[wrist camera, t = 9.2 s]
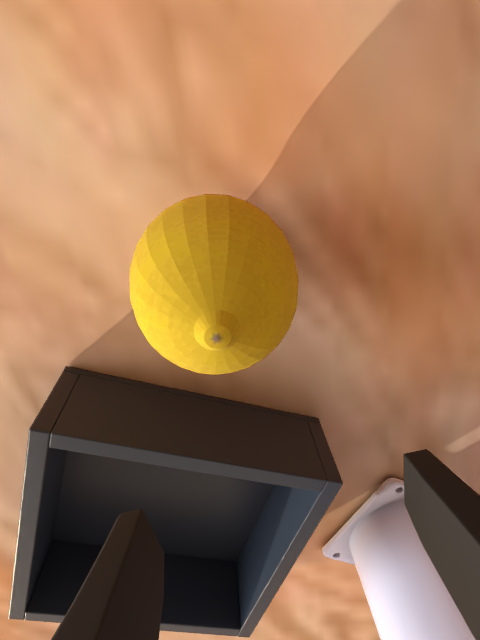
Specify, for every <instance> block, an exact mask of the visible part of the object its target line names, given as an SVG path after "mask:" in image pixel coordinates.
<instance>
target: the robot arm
mask: <svg viewBox="0 0 480 640" xmlns="http://www.w3.org/2000/svg"><path fill="white" fill-rule="evenodd" d="M322 551H323V554H324V556H325V557H328V558H331V559H335V560H339V561H343V562H346V563H350V564H354V565H356V568H357V571H358V574H359V577H360V580H361V583H362V586H363V589H364V592H365V595H366V597H367V600H368V603H369V606H370V609H371V612H372V615H373V618H374V621H375V624H376V627H377V630H378V633H379V636H380V639H381V640H480V495H478V494H477V493H476V492H475V491H474V490H473V489H471V488H470V487H469V486H468V485H467V484H466V483H464V482H463V481H462V480H461V479H460V478H459V477H458V476H456V475H455V474H454V473H453V472H452V471H451V470H450V469H449V468H448V467H446V466H445V465H444V464H443V463H442V462H441V461H440V460H439V459H438V458H437V457H435V456H434V455H433V454H432V453H431V452H430V451H428V450H427V449H425V450H420V451H415V452H411V453H406V454H404V481H403V480H400V479H397V478H389V479H387V480H385V481H384V482H383V484H382V485H381V486H380V487H379V488H378V489H377V490H376V491H375V492H374V493H373V494H372V495H371V496H370V497H369V499H368V500H367V501H366V502H365V503H364V504H363V505H362V506H361V507H360V508H359V509H358V510H357V511H356V513H355V514H354V515H353V516H352V517H351V518H350V519H349V520H348V521H347V522H346V523H345V524H344V525H343V526H342V528H341V529H340V530H339V531H338V532H337V533H336V534H335V535H334V536H333V537H332V538H331V539H330V540H329V541H328V543H327V544H326V545H325V546H324V547H323V549H322ZM163 597H164V552H163V550H162V548H161V546H160V544H159V542H158V540H157V538H156V536H155V534H154V532H153V530H152V528H151V526H150V524H149V522H148V520H147V518H146V516H145V514H144V512H143V510H142V509H139V510H134V511H129V512H125V513H120V515H119V516H118V518H117V520H116V522H115V524H114V526H113V528H112V529H111V531H110V533H109V535H108V537H107V539H106V541H105V543H104V545H103V547H102V549H101V551H100V553H99V555H98V557H97V559H96V561H95V562H94V564H93V566H92V568H91V570H90V572H89V574H88V576H87V578H86V579H85V581H84V583H83V585H82V587H81V588H80V590H79V592H78V594H77V596H76V598H75V599H74V601H73V603H72V605H71V607H70V608H69V610H68V612H67V614H66V615H65V617H64V619H63V620H62V622H61V624H60V625H59V627H58V629H57V631H56V632H55V634H54V636H53V637H52V639H51V640H158V639H159V631H160V623H161V615H162V606H163Z"/></svg>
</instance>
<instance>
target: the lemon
mask: <svg viewBox="0 0 480 640" xmlns="http://www.w3.org/2000/svg"><path fill="white" fill-rule="evenodd" d="M298 281H299V280H298V273H297V268H296V263H295V258H294V254H293V251H292V249H291V247H290V245H289V243H288V241H287V239H286V237H285V236H284V234H283V232H282V230H281V229H280V228H279V227H278V226H277V225H276V224H275V223H274V221H273V220H272V219H271V218H270V217H269V216H268V215H267V214H266V213H265V212H263V211H262V210H260V209H258V208H257V207H255V206H254V205H252V204H251V203H249V202H247V201H245V200H241V199H238V198H235V197H232V196H229V195H215V194H204V195H200V196H195V197H191V198H186V199H184V200H182V201H180V202H178V203H176V204H174V205H172V206H170V207H168V208H167V209H165V210H164V211H163V212H162V213H161V214H160V215H159V216H158V217H157V218H156V219H155V220H154V221H152V222H151V223H150V224H149V226H148V227H147V229H146V231H145V232H144V234H143V236H142V237H141V239H140V241H139V242H138V244H137V246H136V249H135V253H134V256H133V260H132V264H131V267H130V299H131V304H132V307H133V310H134V314H135V317H136V321H137V323H138V326H139V327H140V329H141V331H142V332H143V334H144V335H145V337H146V339H147V340H148V342H149V343H150V345H151V346H152V347H154V348H155V349H156V350H157V351H158V352H159V353H160V354H161V355H162V356H163V357H164V358H166V359H168V360H169V361H171V362H173V363H174V364H176V365H178V366H179V367H181V368H184V369H187V370H190V371H193V372H196V373H203V374H213V375H216V374H226V373H233V372H236V371H239V370H242V369H245V368H248V367H250V366H252V365H253V364H255V363H257V362H259V361H260V360H262V359H264V358H265V357H266V356H267V355H268V354H269V353H270V352H271V351H273V350H274V349H275V348H276V347H277V346H278V345H279V343H280V342H281V340H282V339H283V337H284V336H285V334H286V333H287V331H288V329H289V327H290V325H291V322H292V319H293V316H294V313H295V310H296V307H297V298H298Z"/></svg>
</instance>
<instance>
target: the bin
mask: <svg viewBox="0 0 480 640" xmlns="http://www.w3.org/2000/svg"><path fill="white" fill-rule="evenodd" d="M342 484H343V482H342V480H341V477H340V474H339V472H338V469H337V466H336V464H335V461H334V458H333V456H332V453H331V451H330V448H329V445H328V443H327V440H326V437H325V435H324V432H323V430H322V427H321V424H320V422H319V419H317V418H312V417H308V416H303V415H298V414H293V413H288V412H284V411H279V410H274V409H269V408H264V407H260V406H255V405H250V404H245V403H240V402H236V401H231V400H226V399H221V398H216V397H211V396H207V395H202V394H197V393H192V392H187V391H183V390H178V389H173V388H168V387H163V386H159V385H154V384H149V383H144V382H139V381H135V380H130V379H125V378H120V377H115V376H110V375H106V374H101V373H96V372H91V371H86V370H82V369H77V368H72V367H67V366H66V367H65V369H64V370H63V373H62V374H61V376H60V378H59V379H58V381H57V383H56V385H55V386H54V388H53V390H52V391H51V393H50V395H49V397H48V398H47V400H46V402H45V403H44V405H43V407H42V408H41V410H40V412H39V414H38V415H37V417H36V419H35V420H34V422H33V424H32V426H31V427H30V429H29V436H28V445H27V454H26V464H25V473H24V482H23V491H22V500H21V509H20V518H19V527H18V536H17V546H16V555H15V564H14V573H13V582H12V591H11V600H10V609H9V619H19V620H24V618H25V620H30V621H43V622H56V623H61V622H62V620H63V619H64V617H65V615H66V614H67V612H68V610H69V608H70V607H71V605H72V603H73V601H74V599H75V598H76V596H77V594H78V592H79V590H80V588H81V587H82V585H83V583H84V581H85V579H86V578H87V576H88V574H89V572H90V570H91V568H92V566H93V564H94V562H95V561H96V559H97V557H98V555H99V553H100V551H101V549H102V547H103V545H104V543H105V541H106V539H107V537H108V535H109V533H110V531H111V529H112V528H113V526H114V524H115V522H116V520H117V518H118V516H119V515H120V513H125V512H129V511H134V510H139V509H142V510H143V512H144V514H145V516H146V518H147V520H148V522H149V524H150V526H151V528H152V530H153V532H154V534H155V536H156V538H157V540H158V542H159V544H160V546H161V548H162V550H163V552H164V597H163V606H162V615H161V623H160V630H161V631H174V632H187V633H201V634H214V635H227V636H238V637H250V636H251V634H252V632H253V631H254V629H255V627H256V626H257V624H258V622H259V621H260V619H261V617H262V616H263V614H264V613H265V611H266V609H267V608H268V606H269V604H270V603H271V601H272V599H273V598H274V596H275V594H276V593H277V591H278V590H279V588H280V586H281V585H282V583H283V581H284V580H285V578H286V576H287V575H288V573H289V571H290V570H291V568H292V567H293V565H294V563H295V562H296V560H297V558H298V557H299V555H300V553H301V552H302V550H303V548H304V547H305V545H306V544H307V542H308V540H309V539H310V537H311V535H312V534H313V532H314V530H315V529H316V527H317V526H318V524H319V522H320V521H321V519H322V517H323V516H324V514H325V512H326V511H327V509H328V507H329V506H330V504H331V503H332V501H333V499H334V498H335V496H336V494H337V493H338V491H339V489H340V488H341V486H342Z"/></svg>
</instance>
